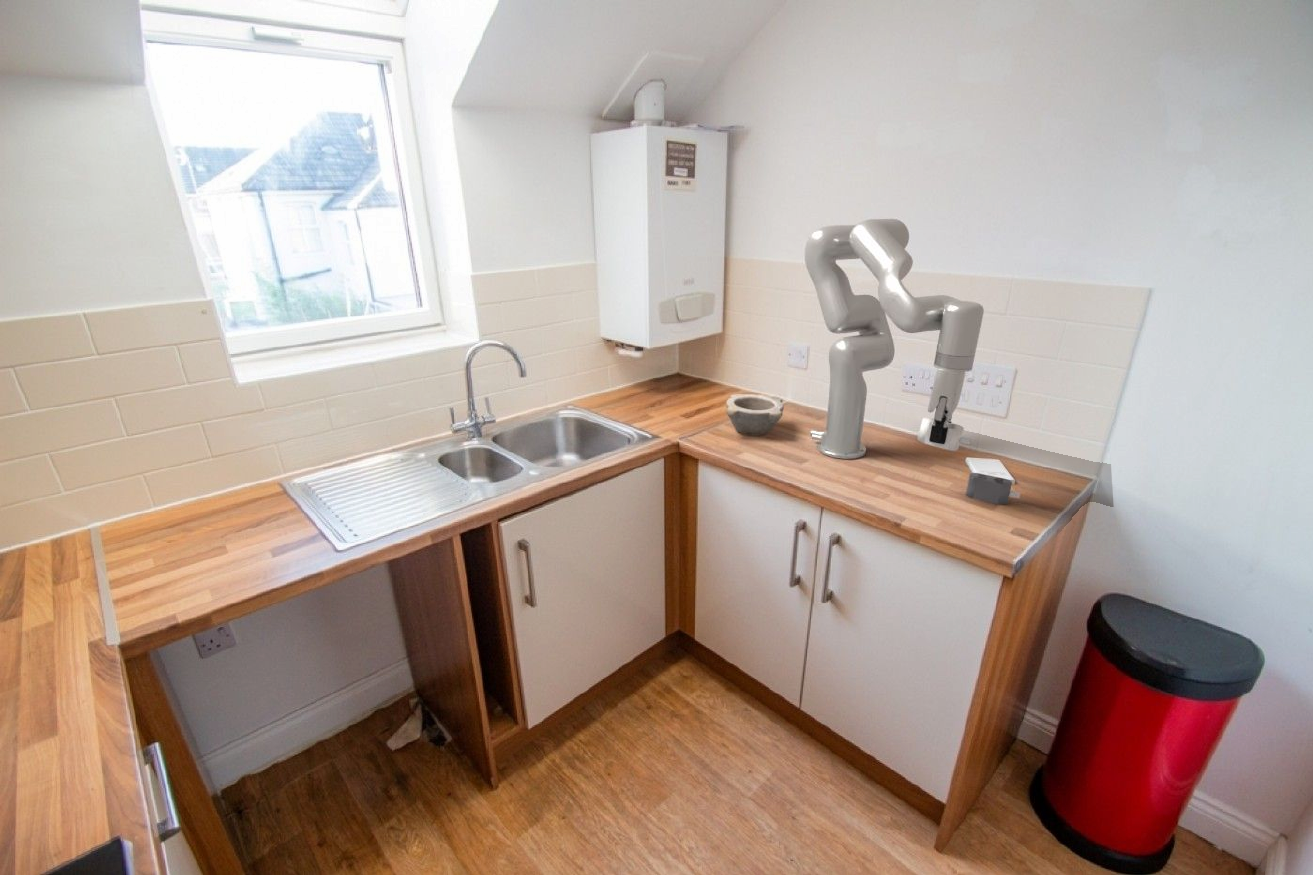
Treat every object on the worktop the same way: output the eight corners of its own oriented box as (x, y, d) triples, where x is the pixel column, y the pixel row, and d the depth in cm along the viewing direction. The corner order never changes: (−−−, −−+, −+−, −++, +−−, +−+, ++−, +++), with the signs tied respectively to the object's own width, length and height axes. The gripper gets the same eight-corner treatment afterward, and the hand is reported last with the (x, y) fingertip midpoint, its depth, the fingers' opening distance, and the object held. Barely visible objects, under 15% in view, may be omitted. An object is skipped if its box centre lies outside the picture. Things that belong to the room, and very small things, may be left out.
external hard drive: (998, 465, 156) (1014, 485, 145) (964, 462, 158) (977, 482, 147) (1000, 459, 156) (1015, 479, 144) (966, 457, 157) (978, 476, 146)
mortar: (780, 443, 171) (783, 413, 168) (721, 438, 175) (722, 408, 171) (782, 423, 186) (785, 395, 183) (728, 419, 190) (729, 391, 187)
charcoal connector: (964, 496, 139) (968, 477, 137) (967, 490, 142) (970, 471, 140) (1016, 508, 134) (1021, 488, 132) (1018, 502, 136) (1023, 482, 134)
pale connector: (915, 441, 137) (921, 420, 135) (919, 436, 140) (924, 416, 137) (965, 454, 132) (972, 434, 129) (968, 449, 134) (974, 429, 132)
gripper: (942, 350, 137) (928, 425, 144) (927, 366, 124) (912, 448, 131) (979, 354, 133) (963, 431, 140) (966, 372, 120) (949, 456, 127)
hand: (938, 439), depth 135 cm, fingers closed on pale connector, 3 cm apart
